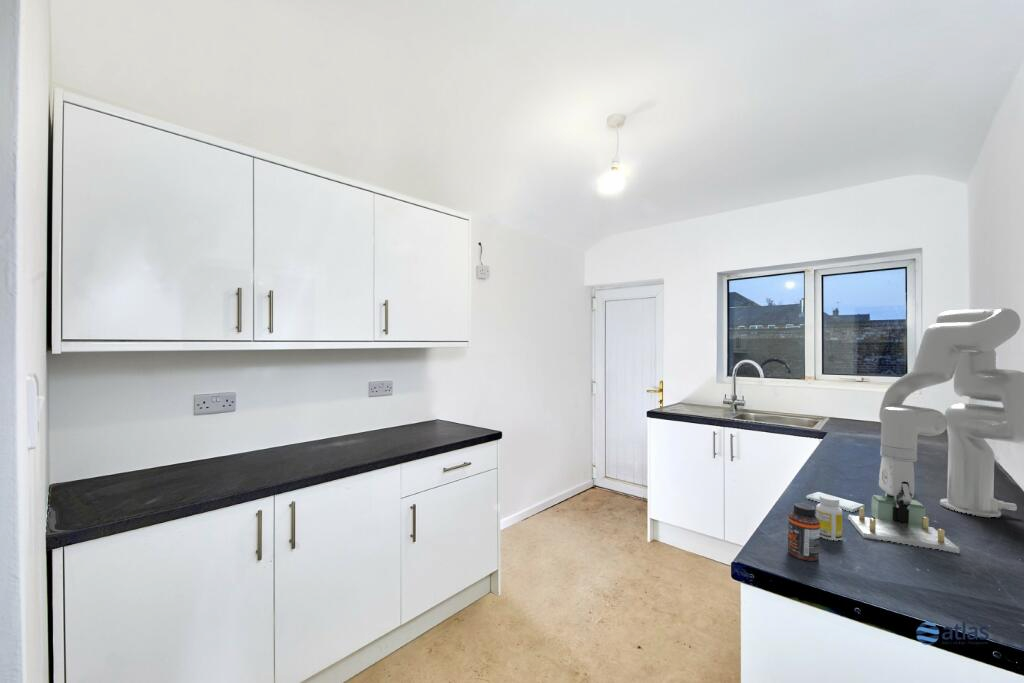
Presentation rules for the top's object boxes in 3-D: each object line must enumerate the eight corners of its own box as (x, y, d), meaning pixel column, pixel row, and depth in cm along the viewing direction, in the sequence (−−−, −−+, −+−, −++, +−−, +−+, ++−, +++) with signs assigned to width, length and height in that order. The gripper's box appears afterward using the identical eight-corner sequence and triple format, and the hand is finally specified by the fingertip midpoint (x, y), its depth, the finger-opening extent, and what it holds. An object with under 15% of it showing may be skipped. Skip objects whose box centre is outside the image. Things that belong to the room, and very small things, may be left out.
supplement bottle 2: (837, 534, 111) (838, 495, 111) (845, 543, 106) (846, 502, 106) (812, 530, 113) (813, 492, 113) (819, 539, 108) (820, 499, 108)
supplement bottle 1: (781, 549, 102) (782, 500, 102) (805, 549, 102) (806, 500, 102) (800, 562, 96) (801, 510, 96) (825, 562, 96) (827, 510, 96)
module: (916, 522, 120) (917, 500, 120) (924, 528, 116) (925, 506, 116) (871, 515, 124) (871, 494, 124) (877, 521, 120) (878, 499, 120)
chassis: (932, 531, 114) (933, 515, 114) (959, 553, 102) (959, 535, 102) (848, 518, 121) (848, 503, 121) (863, 537, 109) (864, 520, 109)
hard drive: (805, 495, 137) (852, 508, 126) (818, 491, 141) (865, 503, 130) (805, 500, 137) (852, 514, 126) (818, 496, 141) (865, 509, 130)
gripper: (870, 444, 129) (868, 506, 129) (893, 457, 114) (891, 527, 114) (902, 448, 126) (900, 511, 126) (930, 461, 111) (928, 533, 111)
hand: (896, 518), depth 120 cm, fingers closed on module, 5 cm apart
